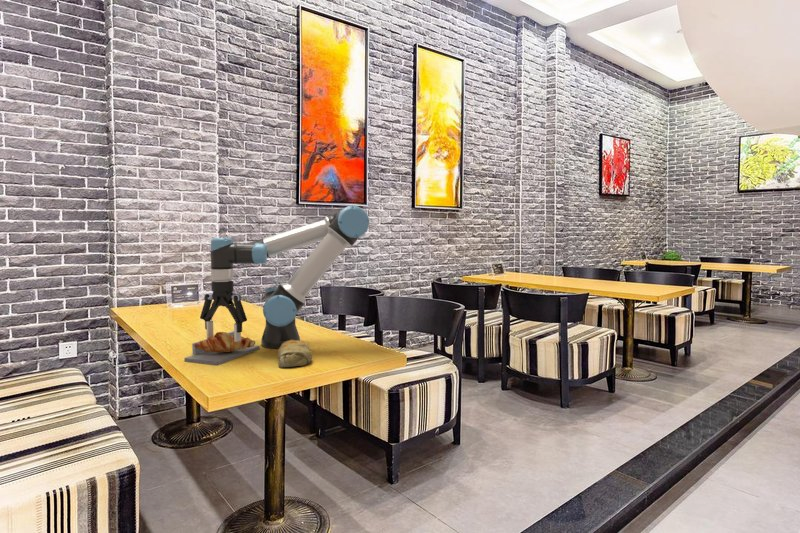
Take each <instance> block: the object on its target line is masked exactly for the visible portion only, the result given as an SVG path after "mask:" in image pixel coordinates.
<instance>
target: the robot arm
mask: <svg viewBox="0 0 800 533" xmlns="http://www.w3.org/2000/svg"><path fill="white" fill-rule="evenodd" d="M369 218H370V217H369V215H368V212H366V210H365V209H363V208H361V207H359V206H358V205H347V206H345V207H344V208H341V209H340V210H338V211H337V212H334V213H331V214H329V215H325V216H324V219H322V220H317V221H315V222H312V223H308V224H306V225H303V226H299V227H296V228H292V229H289V230H287V231H283V232H280V233H277V234H273V235H271V236H268V237H264V238H261V239H258V240H255V241H250V242H247V243H244V242H242V243H235V242H234V241H233V238H232V237H214V238H212V239H211V240H210V250H209V251H210V252H209V253H210V278H211V280H212V281H211V283H210V284H211V293H205V295H204V303H203V306H202V308H201V313H200V317H199V319H201V320H203V321H204V328H205V330H206V339H208V338H209V337H214V335H215V334H214V320H213V317H214V315H215V314H216V312H217V311H218V308H219V307H225V308H226V309H228V311H229V313H230V315H231V316H232V318H233V320H234V322H235V323H233V331H234V342H238V341H241V336H242V332H243V323H244V322H247V321H248V318H247V315H246V312H245V310H244V306H243V304H242V303H243V302H242V298H241V295H240V294H236V295H234V294H233V292H234V265H239V264H240V265H260V264H266V263H267V261H268V260H267V259H268V258H270V257H272V256H276V255H279V254H282V253H286V252H289V251H292V250H294V249H295V250H296V249H298V248H301V247H304V246H307V245H310V244H315V243H318V242H319V244H318V245H316V247H315V248H314V249H313V251H311V253H310V254H309V255H308V257H307V258H306V259H304V261H303V262H302V264H301V265H300V266H299V268H297V270H296V271H295V272H294V274H292V276H291V277H290V278H289V279H288V281H287V282H283V283H282V282H281V283H280V284H279V285H278V286H277V287H276V286H275V287H266V288H265V292H264V297H265V299H264V304H263V307H262V313H263V316H264V318H265V327H264V330H263V333H262V336H261V339H260V340H261V342H260V343H261V344H260V345H261V346H262V347H264V348H270V349H279V348H280V346H281V345H282V343H283V342H285V341H288V340H299V341H301V337H300V333H299V330H298V328H297V325H296V315H297V313H299V311H300V310H301V308H303V306H304V305H305V304H306V296H307V295H308V294H309V293H310V291H311V290H312V289H313V288H314V287H315V285H316V284H317V283H318V282H319V280H320V279H322V277H323V276H324V274H325V273H326V272H327V271H328V270H329V268H330V267H331V266H332V265H333V264H334V262H336V260H337V259H338V257H339V256H340V255H341V254H342V253H343V252H344V251H345V249H347V248H352V247H353V246H354V244H355V243H356V242H357V241H358V240H359V238H360V237H363V235H365V234H366V233H367V231H368V229H369V227H370V219H369Z"/></svg>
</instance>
